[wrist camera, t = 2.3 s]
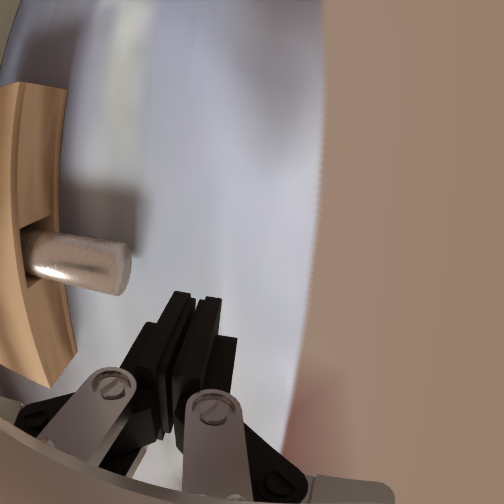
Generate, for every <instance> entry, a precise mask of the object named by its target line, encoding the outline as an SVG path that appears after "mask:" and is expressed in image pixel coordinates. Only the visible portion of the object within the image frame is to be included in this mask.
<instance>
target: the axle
mask: <svg viewBox="0 0 504 504" xmlns="http://www.w3.org/2000/svg"><path fill="white" fill-rule="evenodd" d="M19 231H20V241H21V250H22V258H23V265H24V271H25V273H27V274H30V275H34V276H37V277H41V278H45V279H48V280H52V281H56V282H60V283H64V284H68V285H72V286H76V287H80V288H84V289H88V290H92V291H97V292H101V293H105V294H110V295H114V296H120V295H121V294H122V293H123V292H124V291H125V289H126V287H127V284H128V281H129V277H130V273H131V264H132V257H131V250H130V247H129V246H128V244H126V243H121V242H115V241H108V240H102V239H96V238H90V237H84V236H78V235H71V234H65V233H59V232H53V231H47V230H41V229H35V228H29V227H22V228H20V229H19Z"/></svg>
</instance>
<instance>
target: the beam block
mask: <svg viewBox="0 0 504 504" xmlns="http://www.w3.org/2000/svg"><path fill="white" fill-rule="evenodd" d="M67 92H68V90H65V89H60V88H55V87H50V86H44V85H38V84H32V83H26V82H16V83H12V84H8V85H5V86H2V87H0V364H1V365H3V366H5V367H7V368H8V369H10V370H12V371H14V372H16V373H18V374H20V375H22V376H24V377H26V378H28V379H30V380H32V381H34V382H36V383H39V384H41V385H43V386H45V387H47V388H50V389H51V388H52V386H53V385H54V383H55V382H56V381H57V379H58V378H59V376H60V375H61V374H62V372H63V371H64V369H65V368H66V367H67V365H68V364H69V363H70V361H71V360H72V359H73V357H74V356H75V355H76V353H77V349H76V345H75V340H74V336H73V331H72V326H71V321H70V315H69V309H68V303H67V297H66V290H65V284H64V283H60V282H56V281H52V280H48V279H45V278H41V277H37V276H34V275H30V274H27V273H25V271H24V265H23V258H22V250H21V241H20V231H19V229H20V228H22V227H29V228H35V229H41V230H47V231H53V232H59V233H60V225H59V168H60V150H61V138H62V128H63V119H64V111H65V104H66V98H67Z"/></svg>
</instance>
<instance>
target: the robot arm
mask: <svg viewBox="0 0 504 504" xmlns="http://www.w3.org/2000/svg"><path fill="white" fill-rule="evenodd" d="M221 304H222V299H221V298H215V297H208V296H206V298H205V300H202V299H200V300H199V302H198V305H197V307H196V310H195V306H196V299H195V298H191V294H190V293H185V292H180V291H174V293H173V295H172V297H171V298H170V300H169V302H168V304H167V305H166V307H165V309H164V311H163V313H162V314H161V316H160V318H159V320H158V322H157V323H152V322H146V324H145V325H144V326H143V328H142V330H141V332H140V333H139V335H138V337H137V338H136V340H135V342H134V343H133V345H132V347H131V349H130V350H129V352H128V354H127V356H126V357H125V359H124V361H123V363H122V364H121V366H120V368H118V367H106V368H101V369H99V370H97V371H95V372H94V373H92V374H91V375H90V376H89V377H88V378H87V380H86V381H85V382H84V383H83V384H82V385H81V386H80V387H79V389H78V390H77V391H76V392H74V393H70V394H67V395H63V396H59V397H55V398H52V399H48V400H44V401H40V402H35V403H32V404H29V405H26V406H24V405H23V403H22V402H19V401H15V400H12V399H9V398H5V397H2V396H0V504H395V497H394V493H393V491H392V490H391V488H390V487H388V486H387V485H385V484H384V483H380V482H374V481H363V480H354V479H345V478H338V477H331V476H325V475H319V474H316V476H315V477H314V476H309V475H304V474H303V473H302V472H301V471H300V470H299V469H298V468H297V467H295V466H294V465H293V464H291V463H290V462H289V461H288V460H287V459H285V458H284V457H283V456H282V455H281V454H279V453H278V452H277V451H276V450H275V449H273V448H272V447H271V446H270V445H269V444H268V443H266V442H265V441H264V440H263V439H262V438H261V437H259V436H258V435H257V434H256V433H255V432H254V431H253V430H252V429H251V428H249V427H248V426H247V425H246V424H245V423H244V422H243V415H242V408H241V405H240V403H239V402H238V401H237V399H236V398H235V397H233V396H232V395H231V394H230V390H231V382H232V375H233V368H234V360H235V353H236V346H237V338H234V337H228V336H222V335H218V330H219V321H220V312H221ZM173 424H174V431H175V437H176V447H177V448H178V449H179V450H180V451H181V453H182V454H183V476H182V492H181V491H176V490H172V489H168V488H163V487H159V486H156V485H152V484H148V483H144V482H141V481H138V480H134V479H131V478H132V477H133V475H134V473H135V471H136V469H137V467H138V466H139V464H140V462H141V460H142V458H143V457H144V455H145V453H146V451H147V448H148V445H149V444H151V443H154V442H156V440H157V439H159V440H163V438H164V434H165V432H166V433H171V431H172V427H173Z"/></svg>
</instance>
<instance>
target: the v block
mask: <svg viewBox="0 0 504 504" xmlns="http://www.w3.org/2000/svg"><path fill="white" fill-rule="evenodd" d="M20 2H21V0H0V67H1V62H2V58H3V54H4V50H5V47H6V43H7V40H8V36H9V33H10V30H11V27H12V24H13V21H14V18H15V15H16V12H17V10H18V7H19V5H20Z"/></svg>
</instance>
